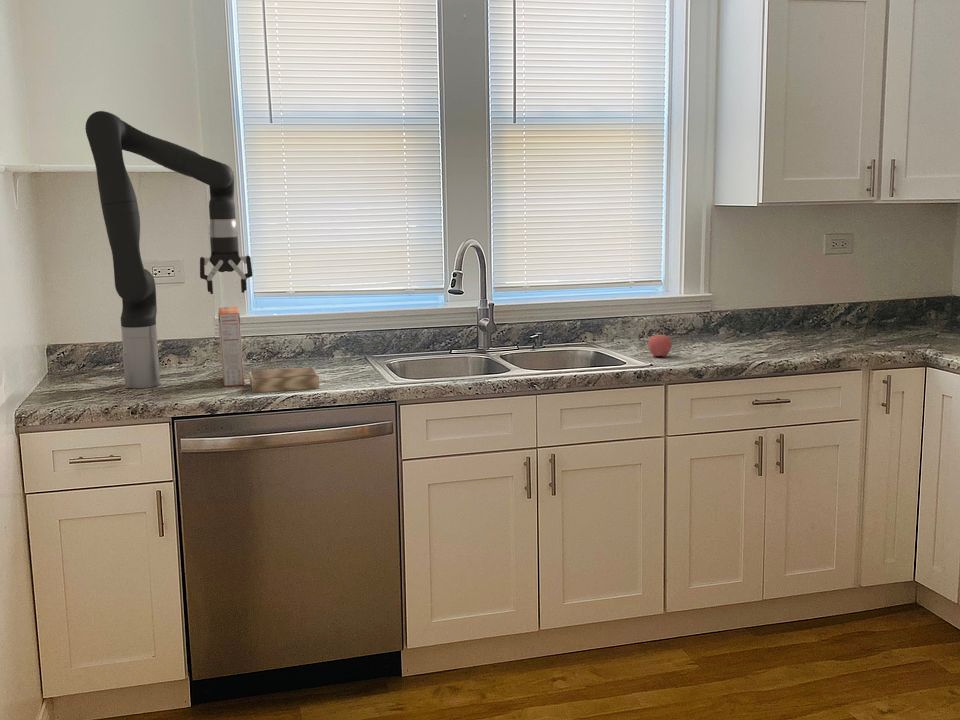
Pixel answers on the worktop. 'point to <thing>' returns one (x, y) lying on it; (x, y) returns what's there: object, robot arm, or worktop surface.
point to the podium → (284, 379)
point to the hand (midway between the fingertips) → (227, 293)
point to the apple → (659, 345)
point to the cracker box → (231, 346)
